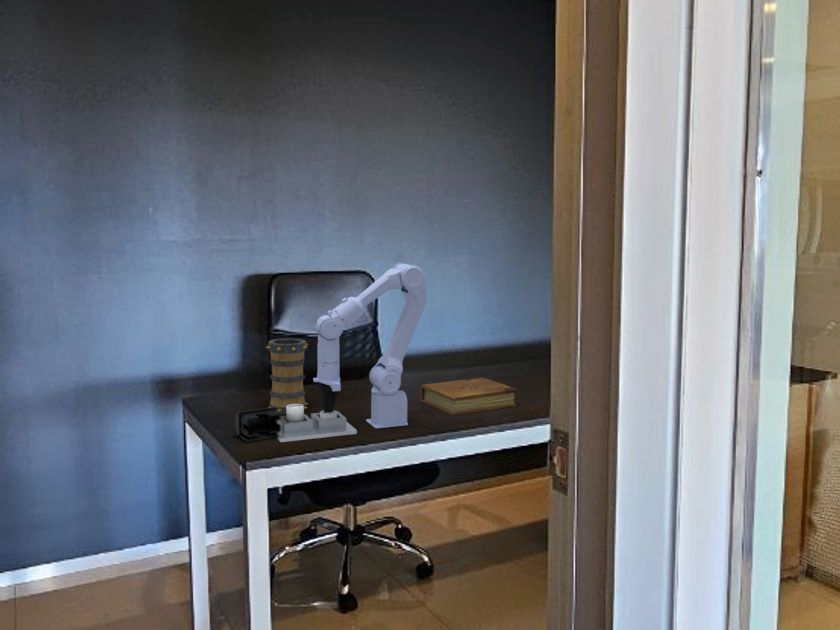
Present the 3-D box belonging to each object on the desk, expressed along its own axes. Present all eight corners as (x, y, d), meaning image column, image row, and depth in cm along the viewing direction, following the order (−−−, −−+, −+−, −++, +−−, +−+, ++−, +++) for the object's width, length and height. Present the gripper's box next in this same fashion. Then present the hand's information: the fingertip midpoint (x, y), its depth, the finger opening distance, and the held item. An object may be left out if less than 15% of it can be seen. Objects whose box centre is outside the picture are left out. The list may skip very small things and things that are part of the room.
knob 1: (301, 418, 194) (301, 402, 194) (305, 423, 190) (305, 406, 190) (284, 420, 192) (284, 404, 192) (288, 424, 188) (288, 408, 188)
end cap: (271, 429, 194) (271, 404, 193) (282, 436, 188) (282, 410, 187) (234, 435, 188) (234, 409, 187) (245, 442, 182) (244, 416, 181)
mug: (273, 417, 205) (272, 346, 202) (255, 403, 220) (254, 337, 217) (316, 412, 211) (316, 343, 209) (296, 398, 226) (296, 334, 224)
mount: (340, 419, 204) (340, 407, 203) (356, 433, 191) (356, 420, 191) (268, 427, 196) (268, 414, 195) (280, 442, 183) (280, 428, 183)
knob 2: (333, 424, 198) (334, 408, 198) (338, 428, 194) (339, 413, 194) (318, 426, 196) (318, 410, 196) (322, 430, 192) (322, 414, 192)
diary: (480, 394, 238) (481, 376, 238) (516, 407, 222) (517, 389, 222) (419, 402, 227) (420, 383, 226) (453, 416, 211) (453, 397, 210)
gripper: (306, 357, 198) (306, 406, 200) (321, 367, 185) (321, 420, 187) (331, 355, 201) (331, 404, 203) (348, 366, 188) (348, 417, 189)
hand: (328, 411), depth 195 cm, fingers closed, pressing on knob 2
